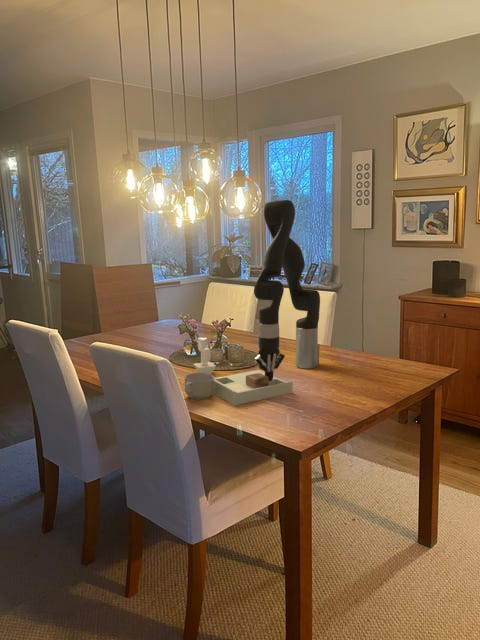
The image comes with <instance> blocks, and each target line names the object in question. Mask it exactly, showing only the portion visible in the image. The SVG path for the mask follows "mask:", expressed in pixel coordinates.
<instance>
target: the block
mask: <svg viewBox="0 0 480 640" xmlns="http://www.w3.org/2000/svg"><path fill="white" fill-rule="evenodd" d="M246 385H248V386H250V387H252V388H254V389H256V388H260V387H265V386H268V376H265V375H263V374H261V373H256V374H251V375H246Z"/></svg>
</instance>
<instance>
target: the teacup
mask: <svg viewBox="0 0 480 640" xmlns="http://www.w3.org/2000/svg"><path fill="white" fill-rule="evenodd" d="M215 378H216V377H215V376H214V375H213V374H209V373H202V372H197V371H196V372H191V373H190V372H189V373H187V374H185V375H184V392H185V394H186V395H187V396H188V397H189V398H190V399H192V400H195V401H196V400H197V401H203V400H207V399H209V397H211V396H212V395H213V394H214V393H213V390H214V379H215Z"/></svg>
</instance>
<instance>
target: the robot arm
mask: <svg viewBox="0 0 480 640" xmlns="http://www.w3.org/2000/svg"><path fill="white" fill-rule="evenodd" d="M295 208H296V207H295V205H294V203H293V202H292V200H288V199H282V200H274V201H268V202H266V203H264V205H263V212H262V215H263V219H264V222H265V224H266V226H267V229H268V231H269V234H270V236H271V238H272V241H271V242H270V243H269V245H268V246H267V248H266V250H265V253H264V256H263V261H262V268H261V271H260V273H259V276H258V277H257V280H256V281H255V284H254V287H253V293H254V294H253V295H254V297H255V298H256V299H257V300H259V301H261V300H263V301H271V302H272V303H271V304H270V305H263V306H261V307H260V308H259V311H258V318H259V319H258V320H259V321H258V322H259V323H258V348H259V349H258V355H257V356H256V357H253V359H252V361H253V362H254V364H256V366H257V367H258V368H259V370H261V371H263V372H265V376H268V381H272V379H273V376H274V371H275V370H277V369H278V368H279V367H280V365H281V364H282V362H283V360H284V358H285V354H284V353H281V352H280V325H279V321H280V319H279V317H280V315H279V312H280V307H281V302H282V299H283V297H284V296H283V295H284V290H285V288H284V285H283V282H282V281H280V280H270V279H272V278H277V277H279V276H280V275H282V270H283V272H284V275H285V279H286V282H287V285H288V291H289V295H290V300H291V303H292V306H293V308H294V309H295V310H297V311H301V312H302V311H303V312H306V316H305V317H302V318H298V319H297V320H296V321H295V367H297V368H299V369H309V370H310V369H315V368H317V367H320V344H319V336H318V335H319V322H320V307H321V296H320V292H319V291H318V290H316V289H307V288H305V289H304V288H303V287H302V284H301V277H302V275H303V273H304V270H305V266H306V261H305V258H304V255H303V252H302V249H301V247H300V246H299V245H298V244H297V243H296V241H294V240H293V239H292V238H291V237H290V236H291V235H290V234H291V232H292V229H293V226H294V220H295V216H296V209H295Z"/></svg>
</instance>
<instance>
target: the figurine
mask: <svg viewBox="0 0 480 640" xmlns="http://www.w3.org/2000/svg"><path fill="white" fill-rule="evenodd" d="M208 345H209V342H208V338H207V337H198V338H197V349H198V350H199V351H200V362H198V363H193V366H194V368H195V370H196V372H202V373H209V374H211V375H213V372H214V371H215V368H216V367H217V366H216V365H215V364H214V363H212V362H211V358H212V357H211V355H212V354H211V350H210V348H209V346H208Z"/></svg>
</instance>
